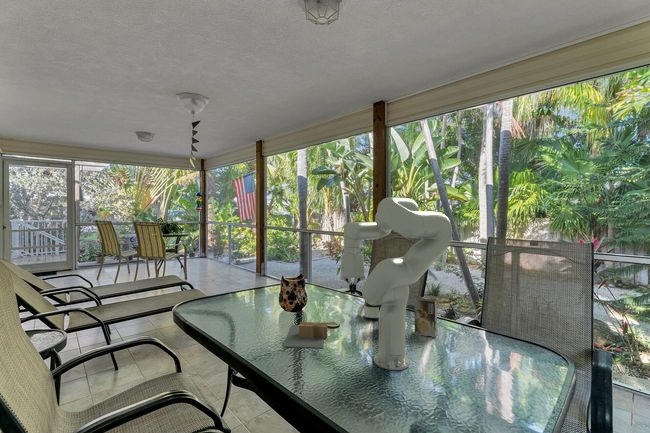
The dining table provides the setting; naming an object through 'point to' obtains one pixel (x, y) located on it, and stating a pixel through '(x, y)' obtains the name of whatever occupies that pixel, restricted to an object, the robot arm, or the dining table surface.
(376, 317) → the spread jar
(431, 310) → the coffee box
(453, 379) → the dining table surface
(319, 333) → the block
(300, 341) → the mat
